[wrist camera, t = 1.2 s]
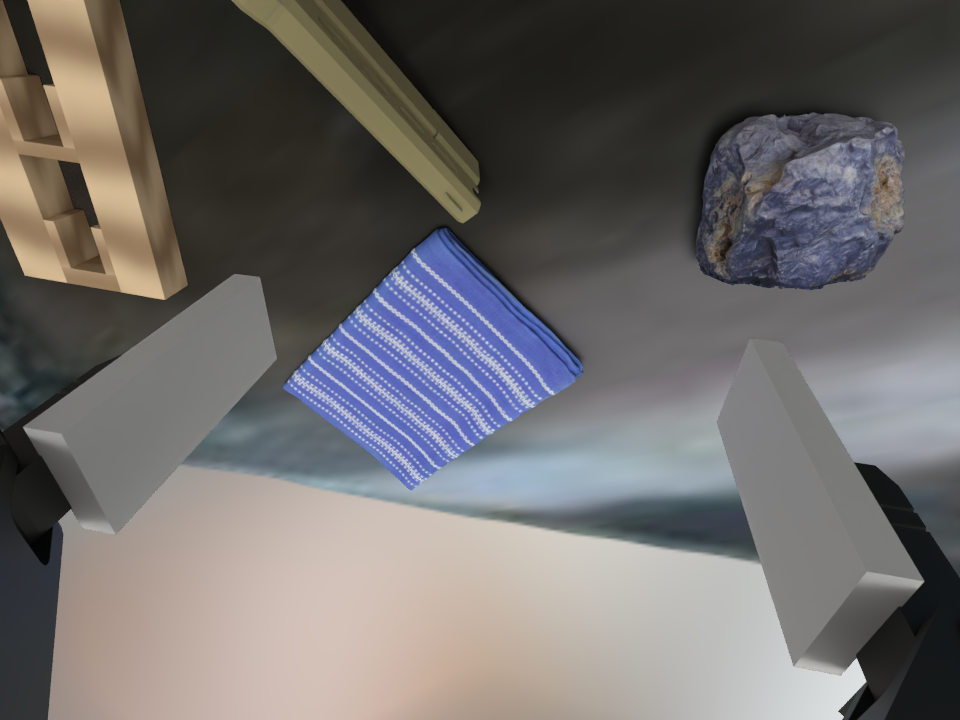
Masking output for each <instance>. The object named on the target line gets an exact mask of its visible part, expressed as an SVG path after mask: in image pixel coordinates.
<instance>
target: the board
mask: <svg viewBox="0 0 960 720" xmlns="http://www.w3.org/2000/svg"><path fill="white" fill-rule="evenodd" d="M27 1H28V4H29V7H30V10H31V13H32V16H33V19H34V22H35V25H36V29H37V32H38V35H39V38H40V41H41V44H42V47H43V50H44V53H45V57H46V60H47V63H48V66H49V69H50V72H51V75H52V78H53V81H54V84H49V85H43V86H44V89H45V92H46V95H47V98H48V101H49V104H50V107H51V110H52V113H53V116H54V119H55V122H56V125H57V128H58V131H59V134H58V131H57V128H56V125H55V122H54V119H53V116H52V113H51V110H50V107H49V104H48V101H47V98H46V95H45V92H44V89H43V86H42V83H41V80H40V77H39V76H37V75H30V74H28V73H27V70H26V67H25V64H24V61H23V58H22V55H21V52H20V50H19V47H18V44H17V41H16V38H15V35H14V32H13V29H12V26H11V23H10V20H9V18H8V15H7V12H6V9H5V6H4V3H3V0H0V218H1V221H2V223H3V225H4V228H5V230H6V232H7V235H8V237H9V239H10V242H11V244H12V246H13V249H14V251H15V253H16V256H17V258H18V260H19V263H20V265H21V267H22V270H23V272H24V274H25V276H31V277H37V278H42V279H48V280H54V281H60V282H65V283H71V284H77V285H83V286H88V287H94V288H100V289H106V290H111V291H117V292H123V293H129V294H134V295H140V296H146V297H152V298H157V299H163V300H166V299H167V298H169V297H170V296H172V295H173V294H175V293H176V292H178V291H179V290H181V289H183V288H184V287H186V286H187V285H188V283H187V279H186V275H185V271H184V266H183V262H182V258H181V254H180V250H179V246H178V242H177V237H176V233H175V229H174V225H173V221H172V217H171V212H170V208H169V204H168V200H167V196H166V192H165V187H164V183H163V179H162V175H161V171H160V167H159V162H158V158H157V154H156V150H155V146H154V142H153V137H152V133H151V129H150V125H149V121H148V117H147V112H146V108H145V104H144V100H143V96H142V92H141V87H140V83H139V79H138V75H137V71H136V67H135V62H134V58H133V54H132V50H131V46H130V42H129V37H128V33H127V29H126V25H125V21H124V17H123V12H122V8H121V4H120V0H27ZM58 160H62V161H69V162H75V163H80V165H81V169H82V172H83V175H84V178H85V181H86V184H87V187H88V190H89V193H90V196H91V200H92V203H93V206H94V209H95V212H96V215H97V218H98V221H99V224H98V225H96V226H93V227H91V230H92V233H93V236H94V239H95V242H96V245H97V248H98V251H99V254H100V255H99V254H98V251H97V248H96V245H95V242H94V239H93V236H92V233H91V230H90V227H89V224H88V221H87V218H86V215H85V212H84V210H79V209H74V207H73V204H72V201H71V198H70V195H69V192H68V189H67V186H66V183H65V181H64V178H63V175H62V172H61V169H60V166H59V163H58Z"/></svg>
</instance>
